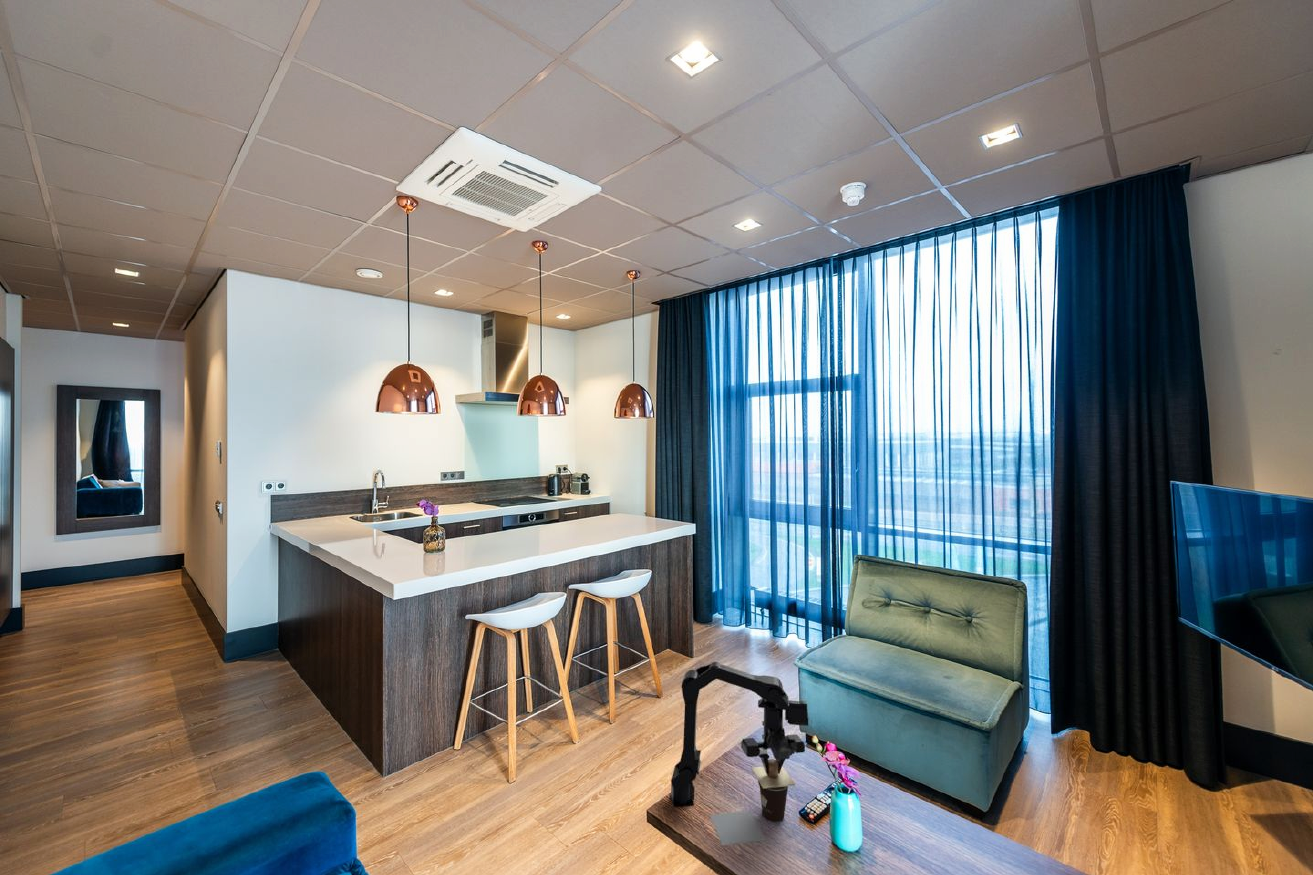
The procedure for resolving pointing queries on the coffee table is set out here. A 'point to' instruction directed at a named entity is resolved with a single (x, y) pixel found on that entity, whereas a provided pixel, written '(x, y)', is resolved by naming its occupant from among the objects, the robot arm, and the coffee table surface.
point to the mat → (737, 828)
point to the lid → (772, 776)
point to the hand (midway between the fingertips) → (772, 773)
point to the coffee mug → (773, 802)
